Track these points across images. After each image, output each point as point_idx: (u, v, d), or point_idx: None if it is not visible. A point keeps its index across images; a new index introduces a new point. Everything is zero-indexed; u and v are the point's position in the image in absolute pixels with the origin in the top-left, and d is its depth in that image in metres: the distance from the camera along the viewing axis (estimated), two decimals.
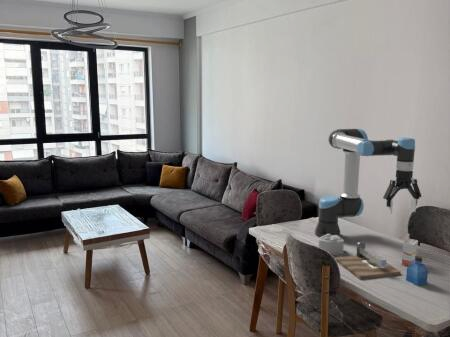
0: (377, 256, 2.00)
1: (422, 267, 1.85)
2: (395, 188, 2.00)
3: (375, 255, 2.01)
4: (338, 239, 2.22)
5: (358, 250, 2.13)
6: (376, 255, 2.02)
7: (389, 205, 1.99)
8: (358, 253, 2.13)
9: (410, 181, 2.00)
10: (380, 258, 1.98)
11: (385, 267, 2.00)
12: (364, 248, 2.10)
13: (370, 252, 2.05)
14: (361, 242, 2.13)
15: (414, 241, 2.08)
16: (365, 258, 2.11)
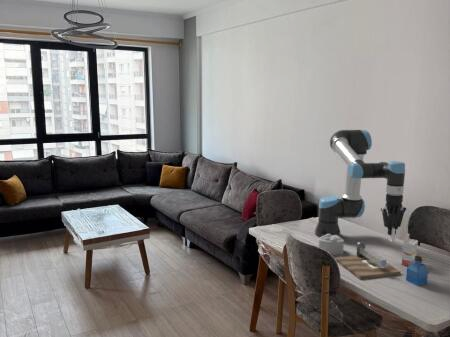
0: (377, 256, 2.00)
1: (422, 267, 1.85)
2: (389, 215, 1.98)
3: (375, 255, 2.01)
4: (338, 239, 2.22)
5: (358, 250, 2.13)
6: (376, 255, 2.02)
7: (390, 233, 1.99)
8: (358, 253, 2.13)
9: (400, 205, 1.97)
10: (380, 258, 1.98)
11: (385, 267, 2.00)
12: (364, 248, 2.10)
13: (370, 252, 2.05)
14: (361, 242, 2.13)
15: (414, 241, 2.08)
16: (365, 258, 2.11)
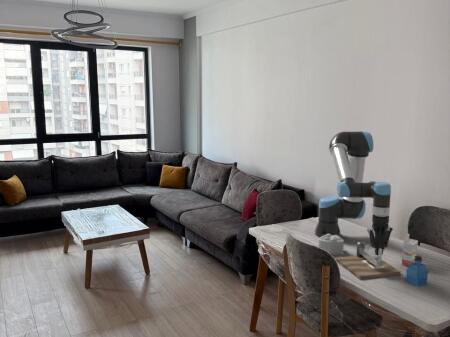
0: (374, 256, 2.00)
1: (422, 267, 1.85)
2: (376, 235, 1.98)
3: (372, 255, 2.01)
4: (338, 239, 2.22)
5: (358, 250, 2.13)
6: (374, 255, 2.01)
7: (377, 253, 1.99)
8: (358, 253, 2.13)
9: (387, 226, 1.98)
10: (377, 258, 1.97)
11: (385, 267, 2.00)
12: (363, 248, 2.10)
13: (369, 252, 2.05)
14: (361, 242, 2.13)
15: (414, 241, 2.08)
16: (365, 258, 2.11)
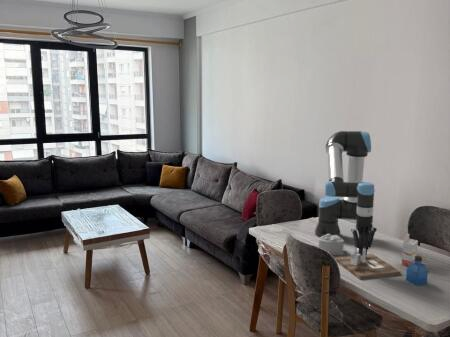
0: (356, 255, 2.01)
1: (422, 267, 1.85)
2: (360, 235, 1.98)
3: (356, 254, 2.02)
4: (338, 239, 2.22)
5: None
6: (357, 254, 2.02)
7: (361, 254, 1.99)
8: None
9: (371, 226, 1.98)
10: (354, 257, 1.99)
11: (385, 267, 2.00)
12: None
13: (358, 251, 2.06)
14: None
15: (414, 241, 2.08)
16: (365, 258, 2.11)
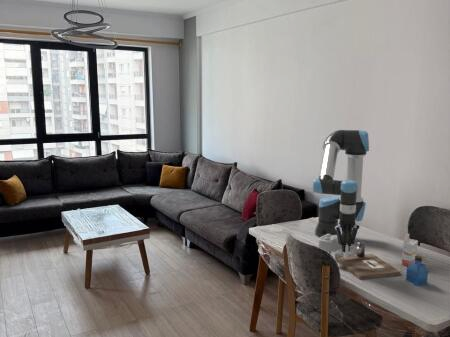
0: (341, 250, 2.07)
1: (422, 267, 1.85)
2: (343, 232, 2.02)
3: None
4: None
5: None
6: None
7: (344, 250, 2.03)
8: None
9: (353, 223, 2.02)
10: (336, 251, 2.06)
11: (385, 267, 2.00)
12: (356, 247, 2.12)
13: None
14: (361, 242, 2.13)
15: (414, 241, 2.08)
16: (365, 258, 2.11)
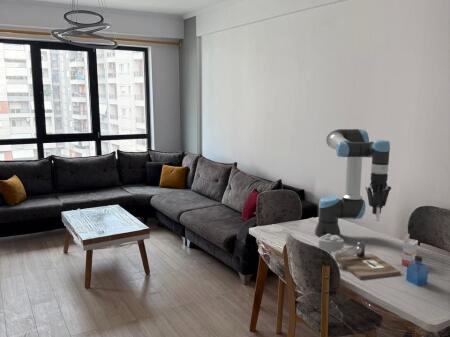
0: (341, 250, 2.07)
1: (422, 267, 1.85)
2: (374, 193, 1.97)
3: (342, 250, 2.08)
4: (338, 239, 2.22)
5: None
6: (343, 250, 2.07)
7: (375, 212, 1.98)
8: None
9: (385, 184, 1.97)
10: (336, 251, 2.06)
11: (385, 267, 2.00)
12: (356, 247, 2.12)
13: (349, 249, 2.10)
14: (361, 242, 2.13)
15: (414, 241, 2.08)
16: (365, 258, 2.11)
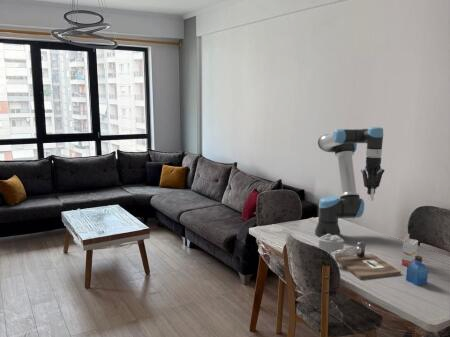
0: (341, 250, 2.07)
1: (422, 267, 1.85)
2: (369, 176, 2.17)
3: (342, 250, 2.08)
4: (338, 239, 2.22)
5: None
6: (343, 250, 2.07)
7: (369, 193, 2.18)
8: None
9: (379, 167, 2.17)
10: (336, 251, 2.06)
11: (385, 267, 2.00)
12: (356, 247, 2.12)
13: (349, 249, 2.10)
14: (361, 242, 2.13)
15: (414, 241, 2.08)
16: (365, 258, 2.11)
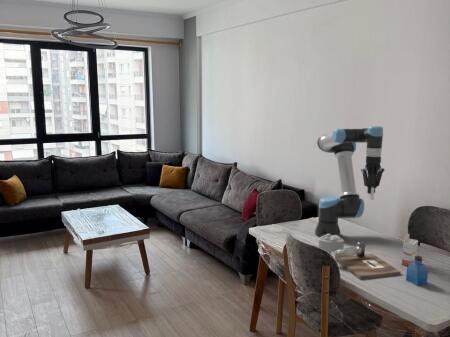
0: (341, 250, 2.07)
1: (422, 267, 1.85)
2: (369, 175, 2.18)
3: (342, 250, 2.08)
4: (338, 239, 2.22)
5: None
6: (343, 250, 2.07)
7: (369, 192, 2.19)
8: None
9: (379, 166, 2.17)
10: (336, 251, 2.06)
11: (385, 267, 2.00)
12: (356, 247, 2.12)
13: (349, 249, 2.10)
14: (361, 242, 2.13)
15: (414, 241, 2.08)
16: (365, 258, 2.11)
